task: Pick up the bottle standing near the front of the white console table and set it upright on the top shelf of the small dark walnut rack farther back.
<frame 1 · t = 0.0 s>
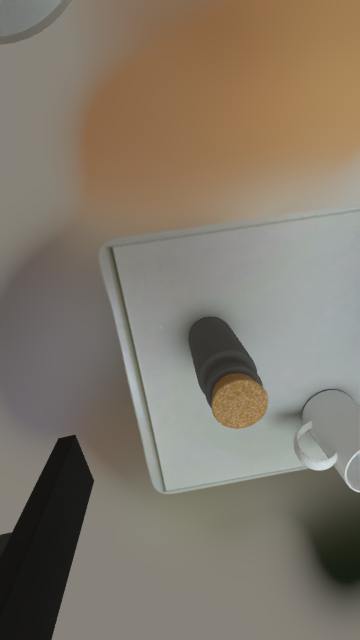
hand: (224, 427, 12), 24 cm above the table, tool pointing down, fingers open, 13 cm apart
mug: (312, 411, 42), on the table
bottle: (209, 336, 37), on the table
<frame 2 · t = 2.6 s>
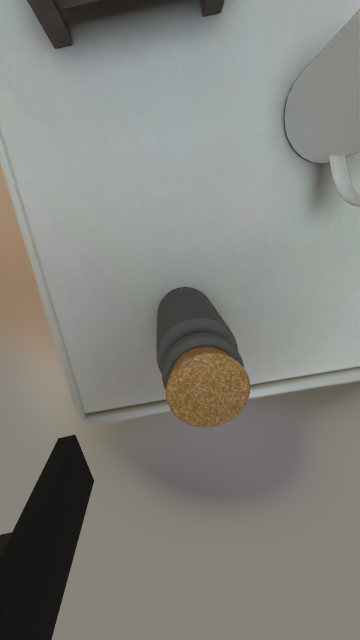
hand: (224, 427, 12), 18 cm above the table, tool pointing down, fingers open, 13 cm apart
mug: (321, 142, 25), on the table
bottle: (184, 313, 30), on the table
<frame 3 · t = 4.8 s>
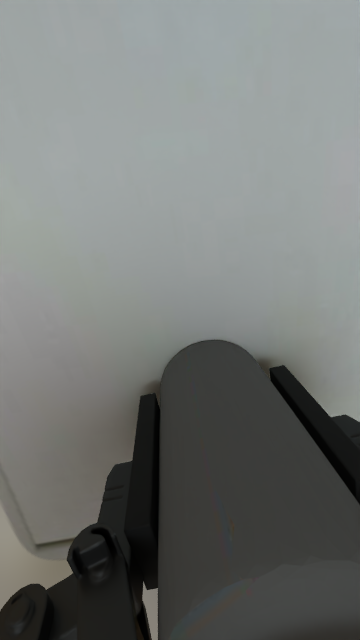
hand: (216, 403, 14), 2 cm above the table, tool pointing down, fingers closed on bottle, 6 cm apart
bottle: (210, 384, 16), on the table, touching gripper
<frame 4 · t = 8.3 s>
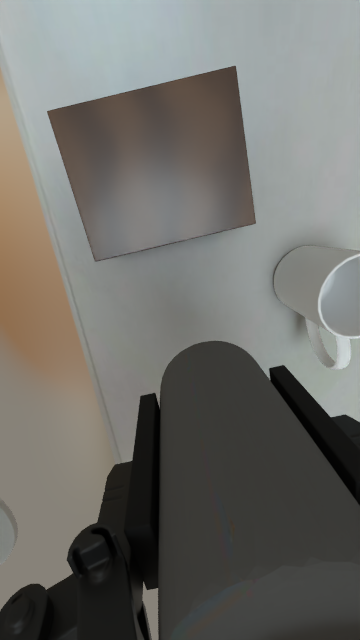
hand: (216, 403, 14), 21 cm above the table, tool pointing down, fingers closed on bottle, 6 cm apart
mug: (300, 294, 35), on the table
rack: (159, 188, 30), on the table
bottle: (210, 384, 16), point 19 cm above the table, touching gripper
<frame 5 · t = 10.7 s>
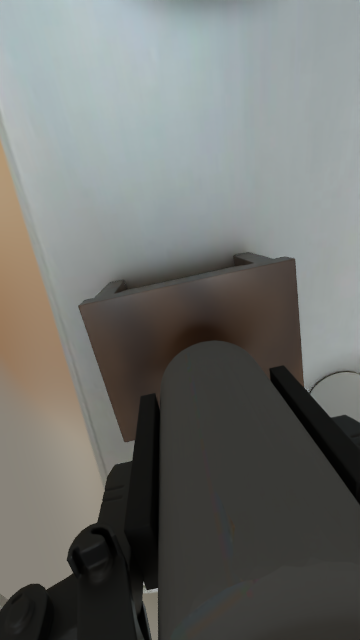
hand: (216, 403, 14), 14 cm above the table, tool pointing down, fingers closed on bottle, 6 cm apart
mug: (334, 415, 33), on the table
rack: (189, 319, 28), on the table
bottle: (210, 384, 16), point 12 cm above the table, touching gripper
when the fingers open (11 cm above the table, at t = 12.0 s): bottle stays where it is, resting on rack.
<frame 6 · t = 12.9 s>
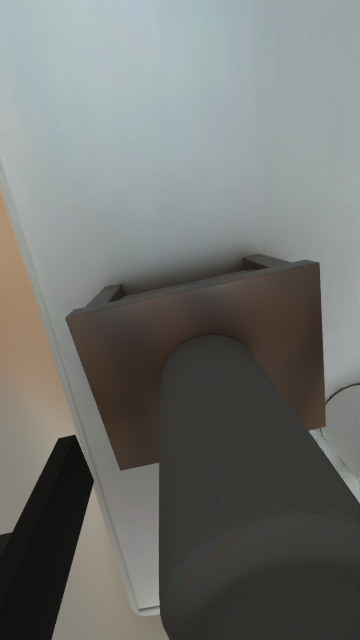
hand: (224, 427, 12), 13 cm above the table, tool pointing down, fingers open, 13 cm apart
mug: (349, 430, 30), on the table
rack: (193, 327, 25), on the table
bottle: (208, 376, 17), point 9 cm above the table, touching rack
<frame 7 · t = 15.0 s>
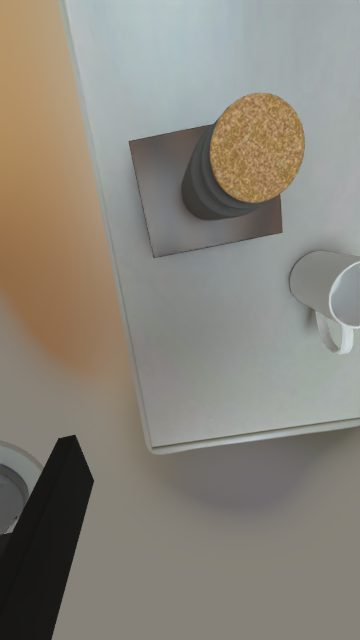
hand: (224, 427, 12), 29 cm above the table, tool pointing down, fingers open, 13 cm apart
mug: (312, 292, 41), on the table
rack: (199, 198, 36), on the table
bottle: (210, 190, 28), point 9 cm above the table, touching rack
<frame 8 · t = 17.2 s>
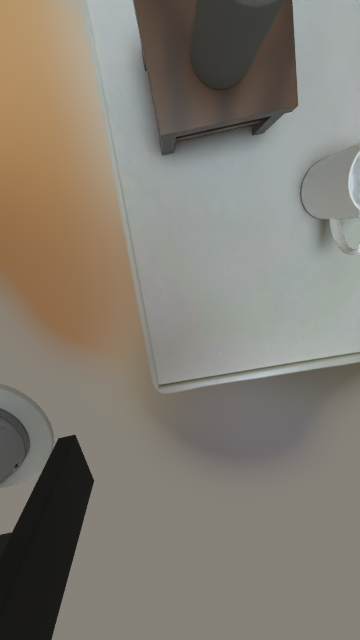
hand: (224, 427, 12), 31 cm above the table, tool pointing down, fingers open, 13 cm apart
mug: (324, 206, 39), on the table
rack: (206, 96, 34), on the table
bottle: (220, 53, 26), point 9 cm above the table, touching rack
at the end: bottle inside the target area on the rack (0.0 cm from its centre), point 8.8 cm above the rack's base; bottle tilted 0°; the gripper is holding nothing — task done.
